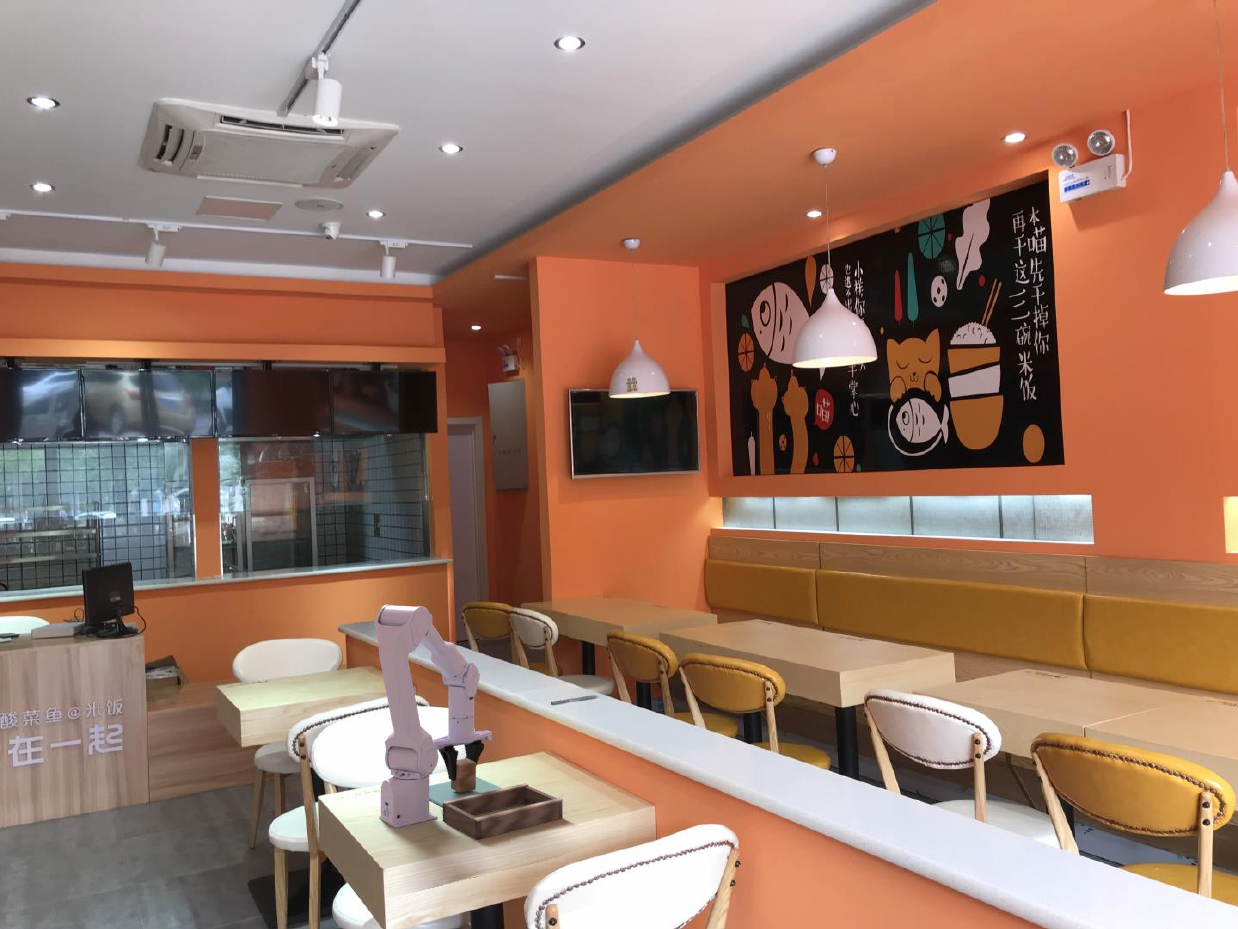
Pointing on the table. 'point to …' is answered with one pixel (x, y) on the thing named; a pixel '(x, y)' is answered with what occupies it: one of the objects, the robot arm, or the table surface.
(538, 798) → the frame
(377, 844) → the table surface
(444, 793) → the mat
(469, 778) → the walnut block
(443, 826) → the table surface
